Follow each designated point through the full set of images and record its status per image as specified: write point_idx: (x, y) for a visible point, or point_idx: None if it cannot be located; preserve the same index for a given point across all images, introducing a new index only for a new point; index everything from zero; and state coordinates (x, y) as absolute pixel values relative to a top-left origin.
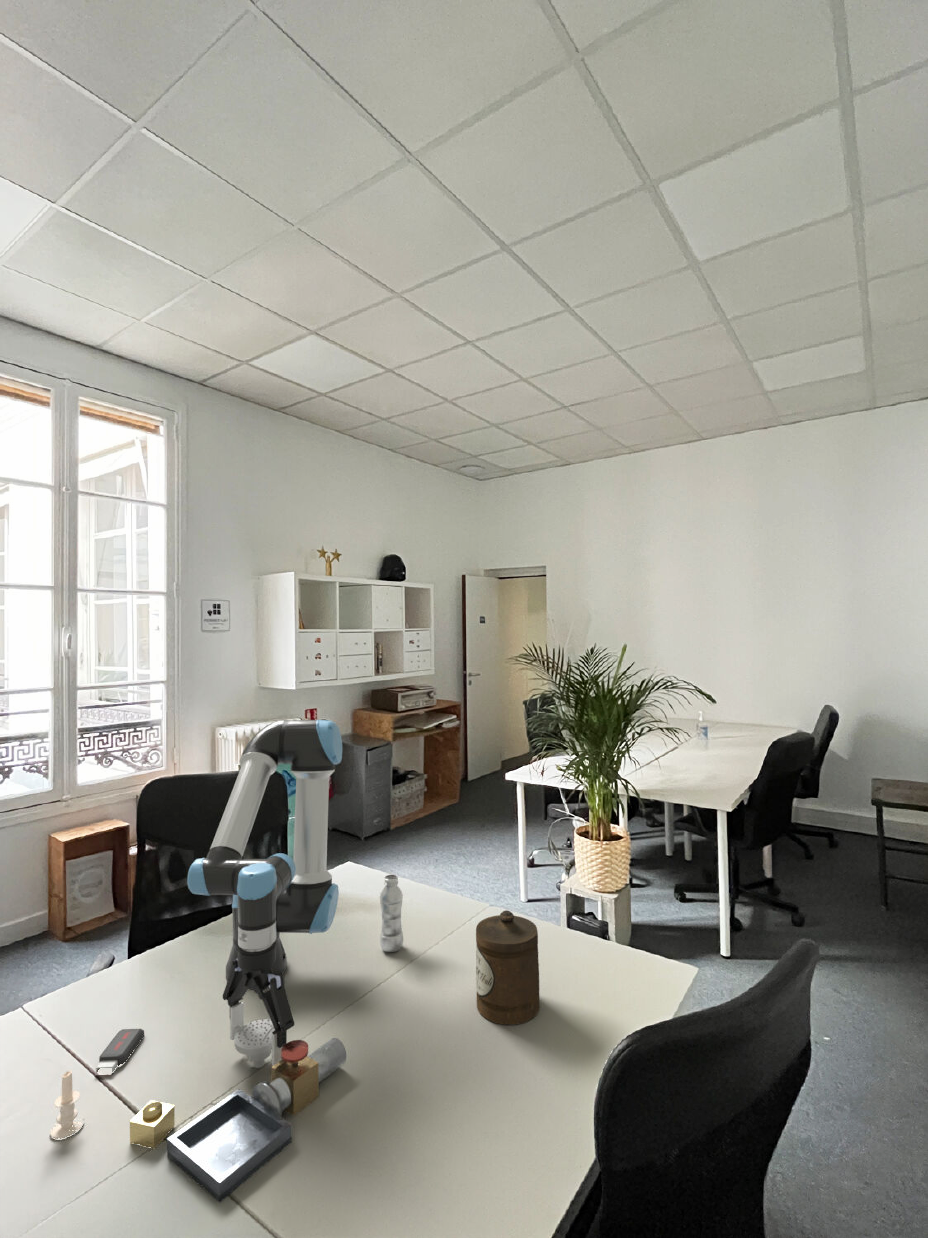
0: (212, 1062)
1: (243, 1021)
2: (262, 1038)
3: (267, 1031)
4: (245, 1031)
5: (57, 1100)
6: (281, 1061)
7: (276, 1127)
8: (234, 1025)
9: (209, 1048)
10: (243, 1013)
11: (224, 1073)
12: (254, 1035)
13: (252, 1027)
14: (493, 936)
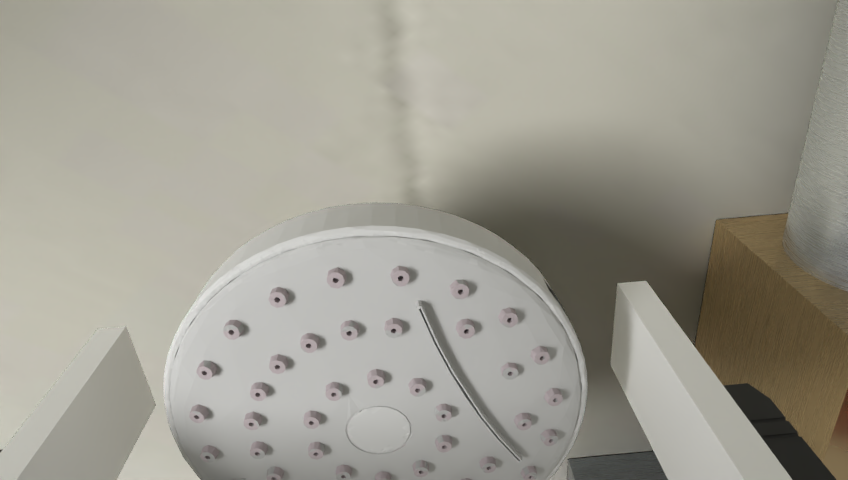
0: (165, 415)
1: (78, 395)
2: (490, 450)
3: (445, 390)
4: None
5: None
6: (833, 471)
7: None
8: (105, 476)
9: (17, 379)
10: (37, 456)
11: None
12: (400, 471)
13: (277, 436)
14: None
